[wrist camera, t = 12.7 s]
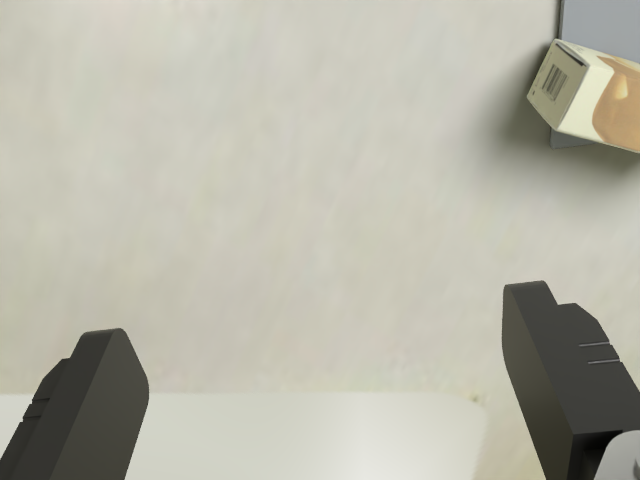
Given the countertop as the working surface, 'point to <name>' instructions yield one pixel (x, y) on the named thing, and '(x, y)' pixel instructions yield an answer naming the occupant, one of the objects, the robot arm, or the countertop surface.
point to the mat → (599, 38)
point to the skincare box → (589, 95)
